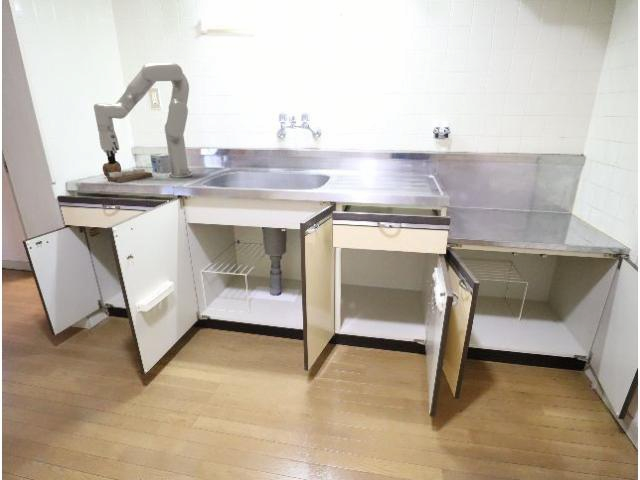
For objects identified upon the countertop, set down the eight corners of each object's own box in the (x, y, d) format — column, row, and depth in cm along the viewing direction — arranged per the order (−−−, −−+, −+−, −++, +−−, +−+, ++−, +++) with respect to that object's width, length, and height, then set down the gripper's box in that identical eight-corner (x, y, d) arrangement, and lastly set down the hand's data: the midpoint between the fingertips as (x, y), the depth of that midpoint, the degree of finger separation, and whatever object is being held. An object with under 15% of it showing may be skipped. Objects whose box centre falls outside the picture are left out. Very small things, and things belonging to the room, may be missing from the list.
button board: (152, 177, 210) (151, 172, 209) (119, 183, 194) (118, 178, 193) (140, 175, 216) (140, 170, 215) (107, 181, 200) (106, 176, 199)
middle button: (134, 175, 206) (133, 170, 205) (126, 177, 202) (125, 171, 201) (129, 175, 208) (128, 169, 207) (122, 176, 205) (121, 171, 204)
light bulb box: (152, 171, 227) (149, 154, 223) (162, 170, 232) (159, 153, 229) (162, 173, 222) (160, 155, 218) (172, 171, 227) (169, 154, 223)
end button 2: (145, 173, 212) (144, 168, 211) (138, 175, 208) (137, 169, 207) (140, 173, 214) (139, 168, 213) (133, 174, 210) (132, 169, 209)
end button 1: (122, 177, 200) (121, 172, 199) (114, 179, 197) (113, 173, 196) (117, 177, 203) (116, 171, 201) (110, 178, 199) (108, 172, 198)
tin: (108, 178, 207) (105, 163, 204) (103, 178, 207) (100, 163, 204) (122, 173, 221) (120, 159, 218) (117, 173, 221) (115, 159, 218)
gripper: (121, 128, 190) (127, 164, 196) (105, 127, 197) (111, 161, 203) (107, 129, 184) (113, 165, 190) (90, 128, 191) (97, 163, 197)
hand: (112, 163), depth 197 cm, fingers closed
